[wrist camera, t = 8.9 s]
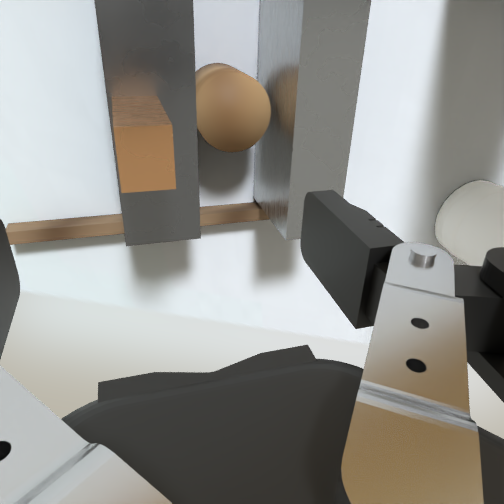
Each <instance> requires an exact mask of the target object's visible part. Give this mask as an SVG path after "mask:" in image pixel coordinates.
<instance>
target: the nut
mask: <svg viewBox="0 0 504 504" xmlns="http://www.w3.org/2000/svg"><path fill="white" fill-rule="evenodd" d="M195 79H196V110H197V129H198V131H199V132H200V133H201V135H202V136H203V138H204V139H205V140H206V141H207V142H208V143H209V144H210V145H211V146H213V147H214V148H216V149H219V150H221V151H225V152H239V151H243V150H245V149H248V148H250V147H251V146H253V145H254V144H256V143H257V142H258V141H259V140H260V139H261V137H262V136H263V135H264V133H265V132H266V130H267V128H268V125H269V121H270V116H271V106H270V101H269V97H268V95H267V93H266V91H265V89H264V88H263V86H262V85H261V84H260V83H259V82H258V81H257V80H255V79H254V78H252V77H250V76H248V75H247V74H245V73H243V72H241V71H239V70H237V69H235V68H234V67H232V66H229V65H227V64H222V63H213V64H208V65H206V66H204V67H202V68H200V69H199V70H197V71H196V72H195Z"/></svg>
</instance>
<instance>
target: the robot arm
mask: <svg viewBox="0 0 504 504" xmlns="http://www.w3.org/2000/svg"><path fill="white" fill-rule="evenodd" d="M301 252H302V256H303V258H304V260H305V262H306V263H307V265H308V266H309V267H310V269H311V270H312V271H313V273H314V274H315V275H316V277H317V278H318V279H319V281H320V282H321V283H322V285H323V286H324V287H325V289H326V290H327V291H328V293H329V294H330V295H331V297H332V298H333V299H334V301H335V302H336V303H337V305H338V306H339V307H340V309H341V310H342V311H343V313H344V314H345V315H346V317H347V318H348V319H349V321H350V322H351V323H352V325H353V326H354V327H355V329H358V328H364V327H370V326H374V327H373V332H372V336H371V340H370V345H369V349H368V353H367V357H366V362H365V366H364V369H362V368H360V367H357V366H354V365H351V364H347V363H343V362H339V361H334V360H326V359H316V358H315V357H314V355H313V353H312V351H311V350H310V348H309V346H308V345H303V346H298V347H292V348H287V349H281V350H276V351H270V352H265V353H260V354H257V355H255V356H252V357H250V358H247V359H245V360H243V361H240V362H238V363H235V364H233V365H230V366H228V367H225V368H223V369H220V370H218V371H215V372H210V373H185V372H176V373H175V372H154V373H148V374H142V375H137V376H131V377H126V378H121V379H115V380H109V381H103V382H99V383H98V400H96V401H93V402H91V403H89V404H87V405H85V406H83V407H81V408H79V409H77V410H75V411H73V412H72V413H70V414H69V415H67V416H65V417H63V418H62V419H60V418H59V417H57V415H55V414H54V413H53V412H52V411H51V410H50V409H49V408H48V407H46V406H45V405H44V404H43V403H42V402H41V401H39V399H38V398H36V397H35V396H34V395H33V394H32V393H31V392H29V391H28V390H27V389H26V388H25V387H24V386H23V385H22V384H21V383H19V382H18V381H17V380H16V379H15V378H14V377H13V376H12V375H11V374H9V373H8V372H7V371H6V370H5V369H4V368H2V366H0V504H504V439H502V438H500V437H498V436H496V435H494V434H492V433H490V432H488V431H486V430H484V429H482V428H481V427H479V426H477V425H476V423H475V421H473V420H472V419H471V417H470V407H469V389H468V370H467V362H468V363H469V364H470V365H471V367H472V368H473V369H474V370H475V371H476V372H477V373H478V374H479V376H480V377H481V378H482V379H483V380H484V381H485V382H486V383H487V384H488V386H489V387H490V388H491V389H492V390H493V391H494V392H495V393H496V394H497V396H498V397H499V398H500V399H501V400H502V401H503V402H504V247H497V248H493V249H490V250H488V251H487V253H486V256H485V259H484V262H483V265H482V266H468V265H454V260H453V258H452V257H451V256H450V254H448V253H447V252H446V251H444V250H442V249H440V248H438V247H435V246H432V245H429V244H424V243H418V242H407V243H404V242H403V241H402V240H401V239H400V238H398V237H397V236H396V235H395V234H394V233H392V232H391V231H390V230H389V229H387V228H386V227H384V225H383V224H381V223H380V222H379V221H378V220H376V219H375V218H374V217H373V216H372V215H370V214H369V213H368V212H367V211H365V210H363V209H361V208H359V207H356V206H354V205H352V204H349V203H348V202H347V201H346V200H345V199H344V198H342V197H341V196H340V195H339V194H338V193H337V192H335V191H334V190H325V191H313V192H308V193H307V194H306V196H305V199H304V208H303V219H302V230H301ZM19 295H20V282H19V275H18V271H17V268H16V264H15V261H14V257H13V254H12V250H11V247H10V243H9V240H8V236H7V233H6V229H5V226H4V224H3V222H2V220H1V219H0V359H1V355H2V352H3V349H4V345H5V342H6V338H7V335H8V332H9V329H10V325H11V322H12V319H13V316H14V312H15V309H16V306H17V302H18V299H19Z"/></svg>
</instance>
